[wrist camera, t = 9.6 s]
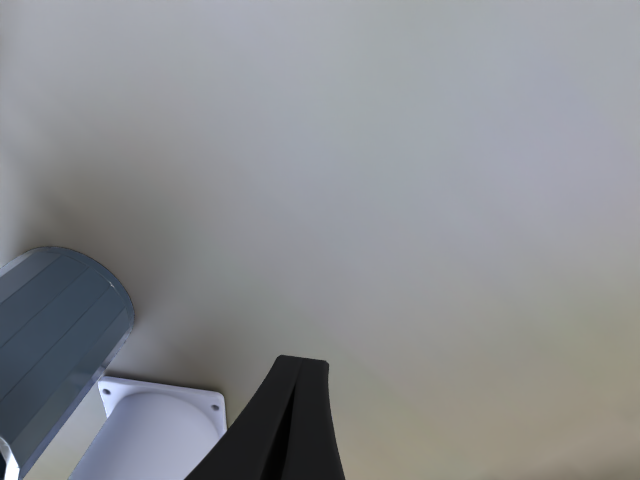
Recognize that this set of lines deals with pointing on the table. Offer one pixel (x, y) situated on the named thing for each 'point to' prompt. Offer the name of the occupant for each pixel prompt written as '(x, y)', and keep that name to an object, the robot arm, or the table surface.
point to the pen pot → (52, 345)
